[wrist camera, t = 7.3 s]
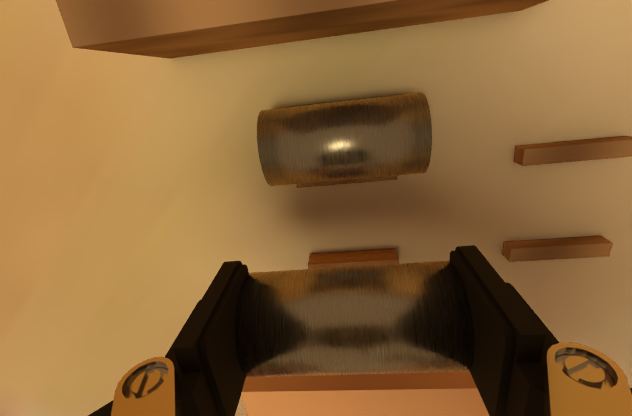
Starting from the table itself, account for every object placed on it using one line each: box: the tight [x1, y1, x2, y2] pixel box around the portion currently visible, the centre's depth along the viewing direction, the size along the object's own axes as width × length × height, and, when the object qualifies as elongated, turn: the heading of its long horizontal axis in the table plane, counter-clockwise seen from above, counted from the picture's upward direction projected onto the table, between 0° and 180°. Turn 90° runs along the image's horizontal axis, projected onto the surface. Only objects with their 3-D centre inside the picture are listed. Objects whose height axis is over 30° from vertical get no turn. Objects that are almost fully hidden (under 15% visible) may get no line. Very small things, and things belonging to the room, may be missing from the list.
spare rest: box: [503, 136, 632, 262], centre depth 16 cm, size 5×6×1 cm
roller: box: [235, 261, 475, 377], centre depth 11 cm, size 7×3×3 cm, turn 97°
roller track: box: [257, 92, 432, 269], centre depth 19 cm, size 9×25×4 cm, turn 7°
